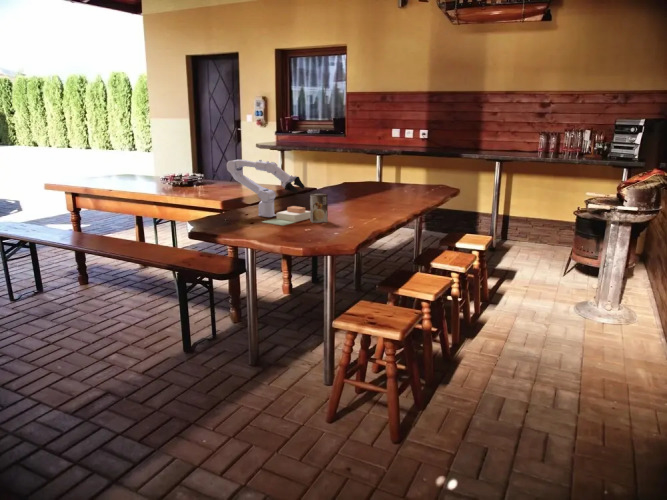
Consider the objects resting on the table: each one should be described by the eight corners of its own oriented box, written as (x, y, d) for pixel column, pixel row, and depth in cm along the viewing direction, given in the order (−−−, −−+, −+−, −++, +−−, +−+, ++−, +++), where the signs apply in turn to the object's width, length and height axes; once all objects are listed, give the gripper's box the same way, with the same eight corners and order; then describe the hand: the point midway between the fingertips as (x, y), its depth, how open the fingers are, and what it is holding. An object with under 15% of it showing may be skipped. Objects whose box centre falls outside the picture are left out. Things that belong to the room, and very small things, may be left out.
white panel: (276, 219, 312) (276, 212, 311) (293, 215, 325) (293, 209, 324) (294, 222, 304) (294, 215, 303) (311, 218, 317) (311, 211, 316)
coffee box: (325, 220, 311) (325, 193, 307) (327, 222, 305) (328, 194, 301) (310, 220, 309) (309, 193, 305) (312, 223, 303) (312, 195, 299)
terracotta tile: (287, 211, 315) (287, 207, 315) (293, 210, 320) (293, 206, 320) (298, 213, 310) (298, 209, 310) (305, 211, 315) (305, 207, 315)
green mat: (261, 222, 303) (261, 221, 303) (275, 219, 313) (275, 218, 313) (282, 225, 294) (282, 225, 294) (296, 222, 304) (296, 221, 304)
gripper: (278, 174, 305) (296, 188, 303) (291, 167, 316) (309, 180, 314) (274, 184, 309) (292, 197, 307) (287, 176, 320) (305, 189, 318)
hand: (300, 189), depth 311 cm, fingers open, 7 cm apart
